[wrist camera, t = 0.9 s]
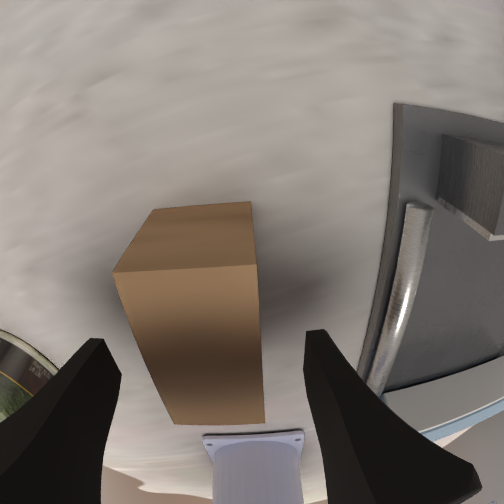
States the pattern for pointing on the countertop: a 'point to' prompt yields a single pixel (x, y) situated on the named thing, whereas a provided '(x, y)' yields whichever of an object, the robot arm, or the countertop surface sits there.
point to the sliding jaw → (451, 400)
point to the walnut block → (197, 311)
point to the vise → (439, 252)
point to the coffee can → (20, 373)
